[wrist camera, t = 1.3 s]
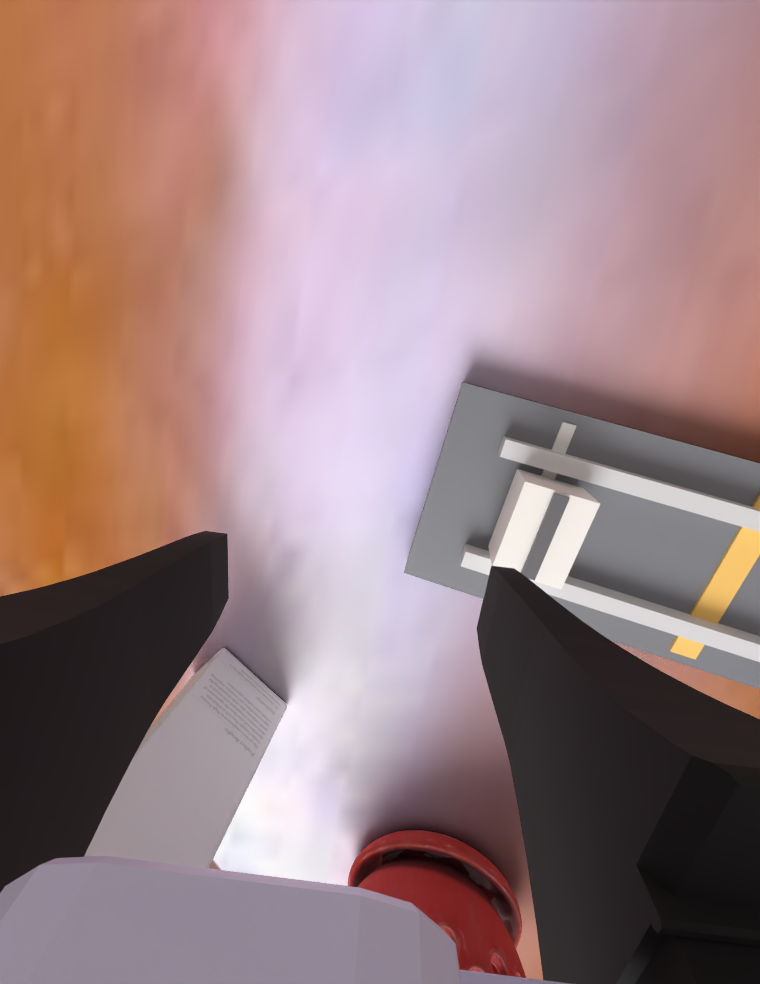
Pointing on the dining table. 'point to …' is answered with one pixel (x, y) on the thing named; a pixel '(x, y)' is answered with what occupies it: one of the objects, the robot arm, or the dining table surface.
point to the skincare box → (192, 769)
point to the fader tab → (541, 528)
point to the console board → (609, 527)
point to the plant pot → (448, 894)
